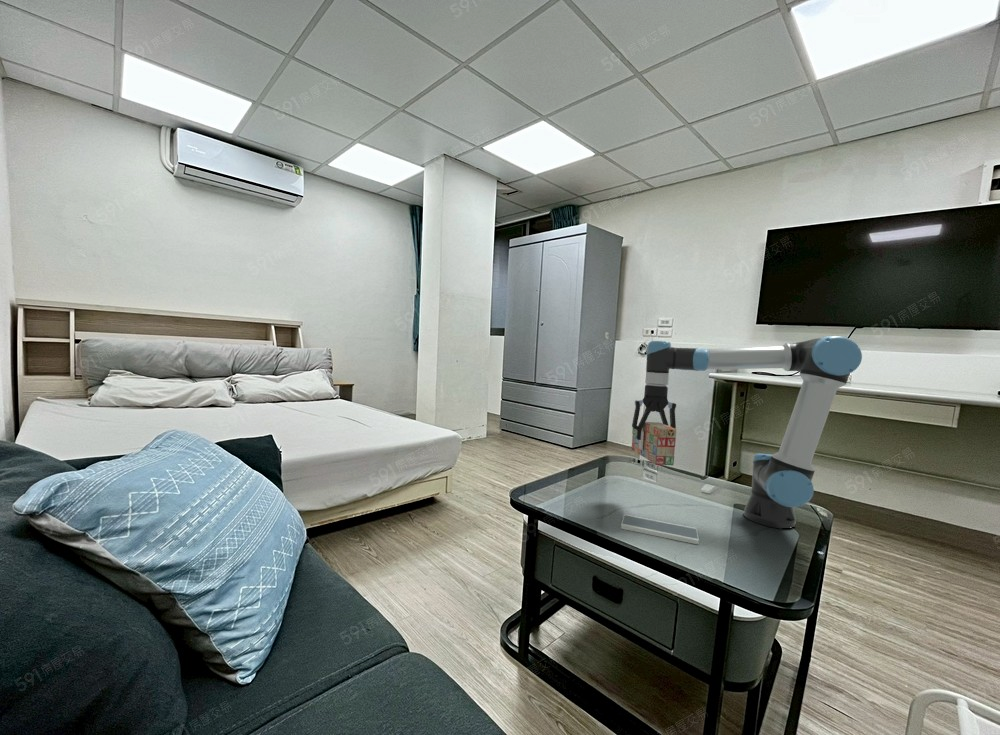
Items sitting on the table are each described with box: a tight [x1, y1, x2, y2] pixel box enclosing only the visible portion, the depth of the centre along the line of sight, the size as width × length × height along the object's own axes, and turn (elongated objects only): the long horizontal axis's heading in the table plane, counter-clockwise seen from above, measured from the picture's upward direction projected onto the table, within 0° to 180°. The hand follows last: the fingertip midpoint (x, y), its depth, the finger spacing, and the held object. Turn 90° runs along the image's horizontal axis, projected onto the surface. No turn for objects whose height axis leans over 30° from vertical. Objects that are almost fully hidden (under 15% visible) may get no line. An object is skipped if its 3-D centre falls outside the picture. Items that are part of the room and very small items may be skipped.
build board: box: [620, 513, 700, 545], centre depth 127 cm, size 22×10×1 cm, turn 67°
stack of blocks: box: [631, 421, 677, 466], centre depth 142 cm, size 21×6×12 cm, turn 3°
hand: (652, 449), depth 142 cm, fingers closed on stack of blocks, 7 cm apart
